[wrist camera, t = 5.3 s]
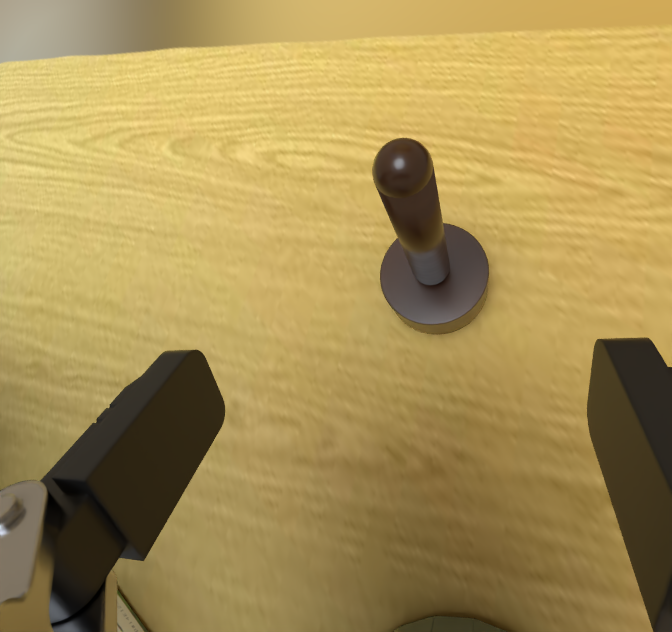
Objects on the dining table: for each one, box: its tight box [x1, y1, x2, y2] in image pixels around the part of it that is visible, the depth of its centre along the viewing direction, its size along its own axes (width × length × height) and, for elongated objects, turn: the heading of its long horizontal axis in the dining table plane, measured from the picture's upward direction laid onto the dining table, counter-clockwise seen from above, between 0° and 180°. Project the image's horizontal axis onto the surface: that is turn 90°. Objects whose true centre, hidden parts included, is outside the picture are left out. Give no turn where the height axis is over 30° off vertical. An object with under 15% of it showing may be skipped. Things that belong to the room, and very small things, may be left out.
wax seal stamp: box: [372, 138, 489, 334], centre depth 21 cm, size 6×6×15 cm
